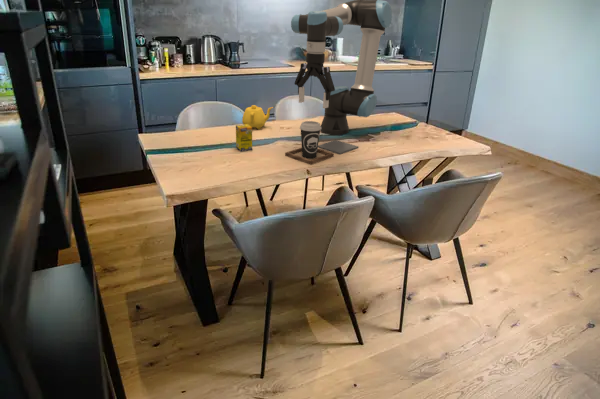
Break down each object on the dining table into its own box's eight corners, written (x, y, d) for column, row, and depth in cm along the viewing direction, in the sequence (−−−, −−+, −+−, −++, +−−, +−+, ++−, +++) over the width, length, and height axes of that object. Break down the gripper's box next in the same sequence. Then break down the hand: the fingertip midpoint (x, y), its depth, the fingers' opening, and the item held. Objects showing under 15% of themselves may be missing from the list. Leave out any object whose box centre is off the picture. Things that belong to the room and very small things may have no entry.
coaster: (316, 147, 207) (317, 145, 206) (335, 141, 216) (335, 139, 216) (340, 154, 198) (340, 152, 198) (358, 148, 208) (358, 146, 207)
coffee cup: (323, 154, 197) (325, 122, 191) (315, 161, 189) (316, 127, 183) (304, 151, 201) (305, 119, 194) (295, 157, 193) (296, 124, 187)
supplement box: (240, 151, 198) (239, 128, 193) (236, 148, 203) (235, 125, 198) (252, 150, 200) (252, 127, 196) (248, 146, 205) (247, 123, 201)
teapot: (253, 132, 226) (253, 110, 221) (236, 127, 235) (235, 105, 230) (273, 128, 235) (273, 106, 230) (256, 122, 244) (255, 101, 239)
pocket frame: (285, 155, 195) (285, 152, 194) (308, 148, 205) (308, 145, 204) (310, 164, 185) (310, 161, 185) (333, 156, 196) (333, 153, 195)
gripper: (286, 50, 181) (286, 101, 190) (334, 56, 166) (330, 111, 175) (299, 49, 187) (297, 98, 195) (345, 55, 172) (342, 108, 181)
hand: (313, 105), depth 185 cm, fingers open, 13 cm apart
